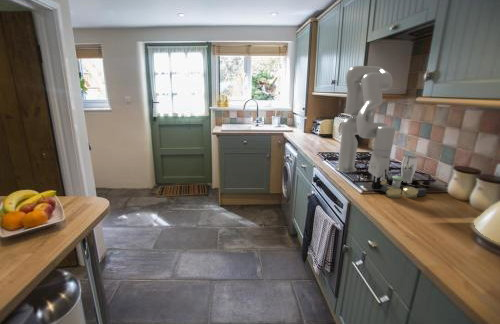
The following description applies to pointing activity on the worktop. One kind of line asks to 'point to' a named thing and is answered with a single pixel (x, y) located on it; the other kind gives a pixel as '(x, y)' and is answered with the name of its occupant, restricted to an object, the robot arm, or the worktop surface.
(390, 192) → the knob
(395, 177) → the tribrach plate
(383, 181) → the knob left
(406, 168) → the beer glass
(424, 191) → the knob
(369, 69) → the robot arm
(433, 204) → the worktop surface
